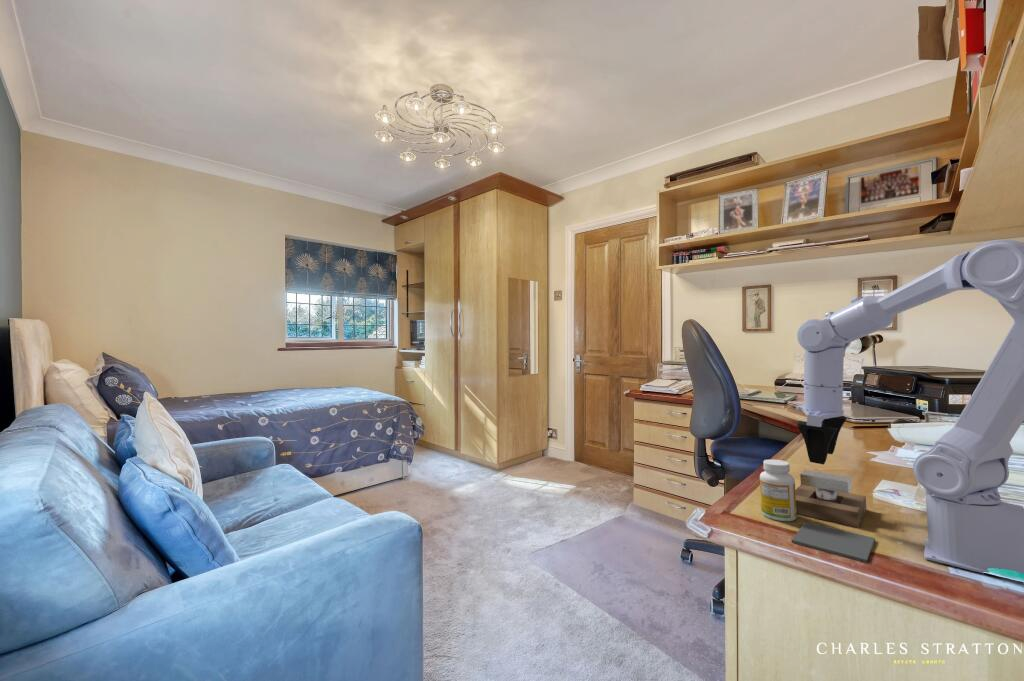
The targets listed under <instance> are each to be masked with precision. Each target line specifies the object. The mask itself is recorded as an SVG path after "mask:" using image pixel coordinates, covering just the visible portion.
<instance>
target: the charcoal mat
mask: <svg viewBox="0 0 1024 681" xmlns="http://www.w3.org/2000/svg"><path fill="white" fill-rule="evenodd" d="M875 542H876V538H875V537H872V536H869V535H865V534H860V533H855V532H851V531H848V530H847V531H846V530H843V529H837V528H833V527H829V526H825V525H821V524H816V523H813V522H808V521H804V523H803V525H801V527H800V528H799V529H798V531H797V533H796V534H795V535H794V536H793V537H792V539H791V543H793V544H795V545H799V546H800V545H801V546H804V547H808V548H811V549H815V550H819V551H821V552H826V553H829V554H834V555H837V556H841V557H843V558H848V559H852V560H856V561H859V562H863V563H868V561H869V559H870V555H871V552H872V549H873V547H874V544H875Z"/></svg>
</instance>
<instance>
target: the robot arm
mask: <svg viewBox="0 0 1024 681" xmlns="http://www.w3.org/2000/svg"><path fill="white" fill-rule="evenodd" d="M968 290H969V291H971V290H978V291H980V292H982V293H983V294H986V295H988V296H989V297H991V298H994V299H995V300H996V301H997V302H998V303H999V304H1000V305H1001V307H1003V309H1004V310H1005V311H1006V312H1007V313H1008V314H1009V316H1010V317H1011V318H1012V319H1013V324H1012V325H1011V327H1010V329H1009V331H1008V333H1006V334H1007V335H1006V336H1005V338H1004V339H1003V341H1002V342H1001V344H1000V347H998V350H997V351H996V353H995V355H994V356H993V359H991V362H990V363H989V365H988V367H987V369H986V371H985V372H984V374H983V376H982V377H981V379H980V381H979V382H978V383H977V386H976V388H975V389H974V391H973V393H972V394H971V396H970V398H969V399H968V400H967V403H966V405H965V406H964V408H963V410H962V411H961V412H960V415H959V417H958V418H957V420H956V422H955V424H954V425H953V426H952V428H950V429H949V430H947V431H946V432H945V433H944V434H942V435H941V436H940V437H939V438H937V440H936V441H935V442H934V444H933V446H932V447H931V448H930V449H928V450H927V451H924V452H922V453H921V454H919V455H918V456H917V457H916V458H915V459H914V462H913V464H912V470H913V471H912V472H913V474H914V477H915V479H916V480H917V482H918V484H920V485H921V486H922V487H923V488H924V490H925V492H924V493H925V507H926V508H925V509H926V522H927V537H925V544H924V550H923V558H924V559H925V560H927V561H933V562H937V563H940V564H945V565H947V566H948V565H949V566H952V567H957V568H960V569H964V570H969V571H973V572H977V573H980V574H984V573H983V572H989V571H988V570H987V569H988V568H995V569H996V568H998V569H1007V570H1013V571H1016V572H1019V573H1022V574H1024V506H1023V505H1020V504H1014V503H1010V502H1006V501H1002V499H1001V498H1002V497H1001V494H1000V492H999V488H1000V487H1002V486H1003V485H1005V484H1006V483H1007V481H1008V479H1009V476H1010V469H1009V460H1010V458H1011V456H1012V455H1013V454H1014V449H1013V447H1012V445H1011V441H1012V440H1013V438H1014V436H1015V435H1016V433H1017V431H1018V430H1019V429H1020V427H1021V425H1022V424H1023V422H1024V241H1019V240H1016V239H995V240H990V241H988V242H985V243H982V244H981V245H979V246H977V247H976V248H974V249H972V250H971V251H965V252H963V253H960V254H957V255H955V256H953V257H952V258H950V259H949V260H947V261H946V262H944V263H942V264H941V265H938V266H937V267H935V268H933V269H931V270H930V271H928V272H926V273H924V274H922V275H920V276H919V277H916V278H915V279H913V280H911V281H909V282H907V283H905V284H904V285H901V286H900V287H898V288H896V289H894V290H892V291H890V292H889V293H887V294H885V295H884V296H881V297H876V296H871V295H867V296H864V297H863V296H856V297H854V298H852V299H850V304H847V306H844V307H842V308H841V309H838V310H836V311H829V312H827V313H825V314H824V317H823V319H818V318H812V319H807V320H806V321H805V322H804V323H802V324H801V326H800V327H799V328H798V330H797V333H796V334H797V335H796V336H797V341H798V344H799V345H800V346H801V347H802V348H803V349H804V363H803V364H804V365H803V366H804V367H803V368H804V370H803V405H802V404H801V405H800V404H798V405H796V406H795V410H796V411H800V412H801V411H802V412H803V413H804V414H805V416H806V421H803V420H799V421H797V422H796V427H797V429H798V430H799V432H800V434H801V436H802V438H803V440H804V444H805V447H806V452H807V456H808V460H809V463H814V464H819V465H825V464H826V461H827V458H828V455H833V454H834V452H835V449H836V445H837V441H838V438H839V433H840V432H841V429H842V427H843V425H844V424H845V422H846V421H847V416H845V410H844V409H843V407H844V406H843V405H844V404H843V401H844V360H845V357H846V350H847V348H849V346H850V345H851V343H852V342H854V341H856V340H859V339H861V338H863V337H866V336H868V335H870V334H874V333H876V332H878V331H880V330H882V329H885V328H887V327H890V326H891V325H892V323H893V322H894V317H895V316H896V315H898V314H900V313H903V312H906V311H908V310H911V309H914V308H916V307H918V306H921V305H923V304H926V303H928V302H931V301H933V300H935V299H938V298H941V297H943V296H945V295H948V294H951V293H954V292H956V291H968Z"/></svg>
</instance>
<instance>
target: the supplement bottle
mask: <svg viewBox="0 0 1024 681" xmlns="http://www.w3.org/2000/svg"><path fill="white" fill-rule="evenodd" d="M763 470H764V471H761V473H760V475H759V487H760V488H759V491H760V492H759V493H760V508H761V509H760V510H761V513H762V515H763V516H764V517H766V518H768V519H770V520H775V521H780V522H793V521H795V520H796V519H797V517H798V516H797V515H798V514H797V512H796V494H795V490H796V482H795V478H794V476H793V475H791V474H790V471H791V470H790V463H789V462H788V461H786V460H781V459H764V460H763Z"/></svg>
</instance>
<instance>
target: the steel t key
mask: <svg viewBox="0 0 1024 681" xmlns="http://www.w3.org/2000/svg"><path fill="white" fill-rule="evenodd" d="M799 476H800V477H799V478H800V485H805V486H810V487H816V499H818V500H823V501H828V502H833V503H837V494H836V491H838V492H844V493H851V490H852V488H853V485H852V476H848V475H840V474H833V473H827V472H820V471H815V470H809V469H808V470H807V469H804V470H803V471H802V472H801V473H800V474H799Z"/></svg>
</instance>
